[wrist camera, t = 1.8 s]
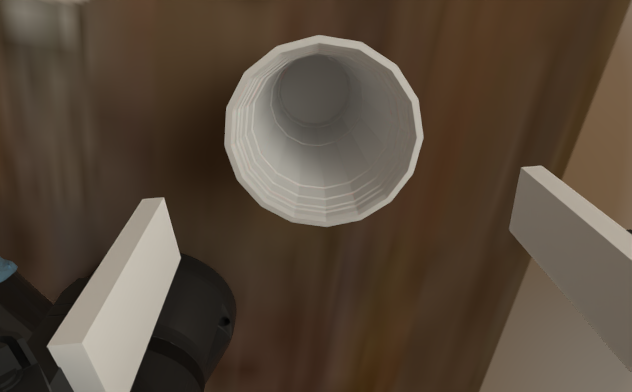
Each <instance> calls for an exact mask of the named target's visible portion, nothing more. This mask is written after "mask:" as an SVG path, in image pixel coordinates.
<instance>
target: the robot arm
mask: <svg viewBox="0 0 632 392" xmlns="http://www.w3.org/2000/svg"><path fill="white" fill-rule="evenodd" d="M509 231H510V232H511V233H512V234H513V235H514V236H515V238H516V239H517V240H518V241H519V242H520V243H521V245H522V246H523V247H524V248H525V249H526V250H527V252H528V253H529V254H530V255H531V256H532V258H533V259H534V260H535V261H536V262H537V263H538V265H539V266H540V267H541V268H542V269H543V270H544V272H545V273H546V274H547V275H548V276H549V277H550V279H551V280H552V281H553V282H554V283H555V284H556V286H557V287H558V288H559V289H560V290H561V291H562V293H563V294H564V295H565V296H566V297H567V299H568V300H569V301H570V302H571V303H572V304H573V306H574V307H575V308H576V309H577V310H578V311H579V313H580V314H581V315H582V316H583V317H584V318H585V320H586V321H587V322H588V323H589V324H590V325H591V327H592V328H593V329H594V330H595V331H596V332H597V334H598V335H599V336H600V337H601V338H602V340H603V341H604V342H605V343H606V344H607V345H608V347H609V348H610V349H611V350H612V351H613V352H614V354H615V355H616V356H617V357H618V358H619V359H620V361H621V362H622V363H623V364H624V365H625V366H626V368H627V369H628V370H629V371H630V372H631V371H632V230H625V229H624V228H622V227H621V226H620V225H618V224H617V223H616V222H615V221H613V220H612V219H611V218H609V217H608V216H607V215H605V214H604V213H603V212H601V211H600V210H599V209H597V208H596V207H595V206H594V205H592V204H591V203H590V202H588V201H587V200H586V199H584V198H583V197H582V196H581V195H579V194H578V193H577V192H575V191H574V190H573V189H571V188H570V187H569V186H567V185H566V184H565V183H563V182H562V181H561V180H560V179H558V178H557V177H556V176H554V175H553V174H552V173H550V172H549V171H548V170H547V169H545V168H544V167H543V166H532V167H521V170H520V176H519V181H518V186H517V191H516V196H515V201H514V206H513V211H512V216H511V221H510V226H509ZM16 269H17V266H16V265H15V264H14V263H13V262H12V261H9V260H6V259H3V258H1V257H0V392H204V388H205V384H206V382H207V381H208V379H209V377H210V376H211V374H212V372H213V371H214V369H215V367H216V366H217V364H218V362H219V361H220V359H221V357H222V356H223V354H224V352H225V351H226V349H227V347H228V345H229V343H230V341H231V338H232V335H233V331H234V325H235V319H236V304H235V299H234V296H233V294H232V292H231V290H230V288H229V286H228V285H227V283H226V282H225V281H224V280H223V279H222V277H221V276H220V275H219V274H218V273H216V272H215V271H214V270H213V269H211V268H210V267H209V266H207V265H206V264H204V263H202V262H200V261H199V260H196V259H194V258H192V257H189V256H187V255H184V254H180V253H179V249H178V246H177V242H176V239H175V235H174V232H173V228H172V224H171V221H170V217H169V214H168V210H167V207H166V203H165V200H164V197H161V198H149V199H142V201H141V202H140V204H139V205H138V207H137V208H136V210H135V212H134V213H133V215H132V216H131V218H130V219H129V221H128V222H127V224H126V225H125V227H124V228H123V230H122V231H121V233H120V235H119V236H118V238H117V239H116V241H115V242H114V244H113V245H112V247H111V248H110V250H109V251H108V253H107V254H106V256H105V257H104V259H103V261H102V262H101V264H100V265H99V267H98V268H97V269H96V270H95V271H94V272H93V273H92V275H91V276H90V278H79V279H78V280H76V281H75V282H74V283H73V284H71V285H70V286H69V287H68V288H66V289H65V290H64V291H63V292H62V294H61V295H60V296H59V298H58V299H57V301H56V302H55V303H54V305H53V304H52V303H51V302H50V301H49V300H48V299H47V298H46V297H44V296H43V295H42V294H41V293H40V292H39V291H38V290H37V289H36V288H35V287H33V286H32V285H31V284H30V283H29V282H28V281H27V280H26V279H25V278H24V277H22V276H21V275H20V274H19V273H18V272H17V271H16Z"/></svg>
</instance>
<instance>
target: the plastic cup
mask: <svg viewBox="0 0 632 392" xmlns="http://www.w3.org/2000/svg"><path fill="white" fill-rule="evenodd" d="M422 141H423V130H422V123H421V116H420V108H419V101H418V98H417V97H416V95H415V93H414V92H413V90H412V89H411V87H410V85H409V84H408V82H407V81H406V79H405V77H404V76H403V74H402V73H401V71H400V69H399V68H398V66H397V65H396V64H394V63H393V62H391V61H390V60H388V59H387V58H385V57H384V56H382V55H381V54H379V53H377V52H376V51H374V50H373V49H371V48H370V47H368V46H367V45H365V44H364V43H362V42H358V41H352V40H346V39H340V38H334V37H328V36H321V35H317V36H313V37H310V38H306V39H302V40H298V41H294V42H291V43H287V44H283V45H279V46H276V47H275V48H274V49H273V50H271V51H270V52H269V53H268V54H266V55H265V56H264V57H263V58H261V59H260V60H259V61H258V62H257V63H255V64H254V65H253V66H252V67H250V68H249V69H248V70H247V71H245V72H244V74H243V76H242V78H241V80H240V82H239V84H238V86H237V88H236V90H235V92H234V94H233V95H232V97H231V99H230V101H229V103H228V105H227V107H226V122H225V141H224V146H225V149H226V152H227V154H228V157H229V160H230V163H231V165H232V168H233V171H234V173H235V176H236V179H237V180H238V182H239V183H240V184H241V185H242V186H243V187H244V188H245V189H246V190H247V192H248V193H249V194H250V195H251V196H252V197H253V198H254V199H255V200H256V201H257V203H258V204H259V205H260V206H261V207H263V208H265V209H267V210H269V211H271V212H273V213H275V214H277V215H279V216H281V217H283V218H285V219H287V220H289V221H290V222H294V223H301V224H309V225H316V226H324V227H329V226H333V225H338V224H343V223H348V222H353V221H358V220H362V219H363V218H365V217H366V216H368V215H370V214H371V213H373V212H375V211H376V210H378V209H380V208H381V207H383V206H385V205H386V204H388V203H389V202H391V201H392V200H393V199H394V197H395V196H396V195H397V193H398V192H399V191H400V190H401V188H402V187H403V186H404V184H405V183H406V182H407V181H408V179H409V178H410V177H411V175H412V174H413V173H414V169H415V166H416V162H417V159H418V155H419V151H420V148H421V144H422Z"/></svg>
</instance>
